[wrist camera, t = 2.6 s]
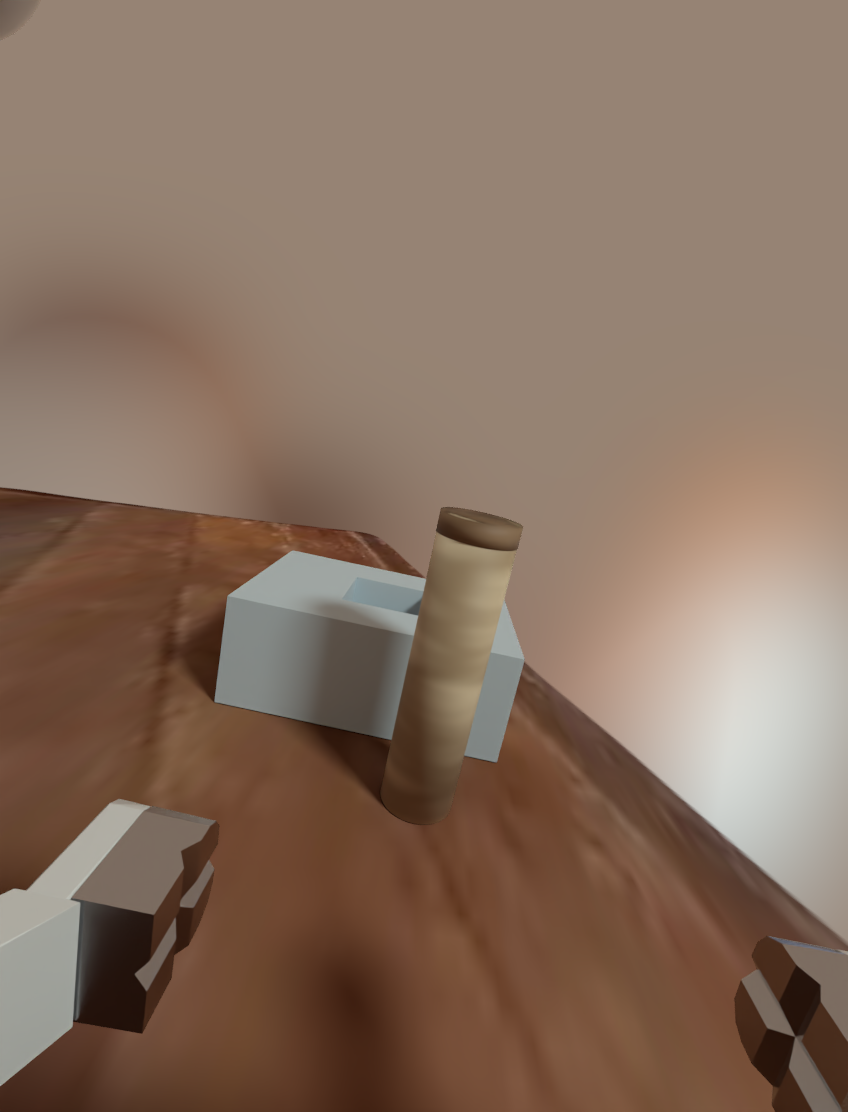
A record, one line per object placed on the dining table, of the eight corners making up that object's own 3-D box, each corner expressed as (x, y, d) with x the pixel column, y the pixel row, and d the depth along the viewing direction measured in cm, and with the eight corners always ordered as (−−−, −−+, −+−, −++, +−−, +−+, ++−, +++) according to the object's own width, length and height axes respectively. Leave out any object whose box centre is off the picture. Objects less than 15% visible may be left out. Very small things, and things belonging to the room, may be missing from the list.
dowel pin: (366, 802, 20) (428, 509, 18) (399, 763, 23) (456, 505, 21) (435, 837, 19) (512, 532, 17) (461, 792, 22) (530, 524, 19)
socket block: (214, 701, 25) (227, 595, 24) (280, 628, 35) (292, 550, 33) (496, 762, 25) (524, 659, 24) (483, 671, 35) (502, 595, 33)
